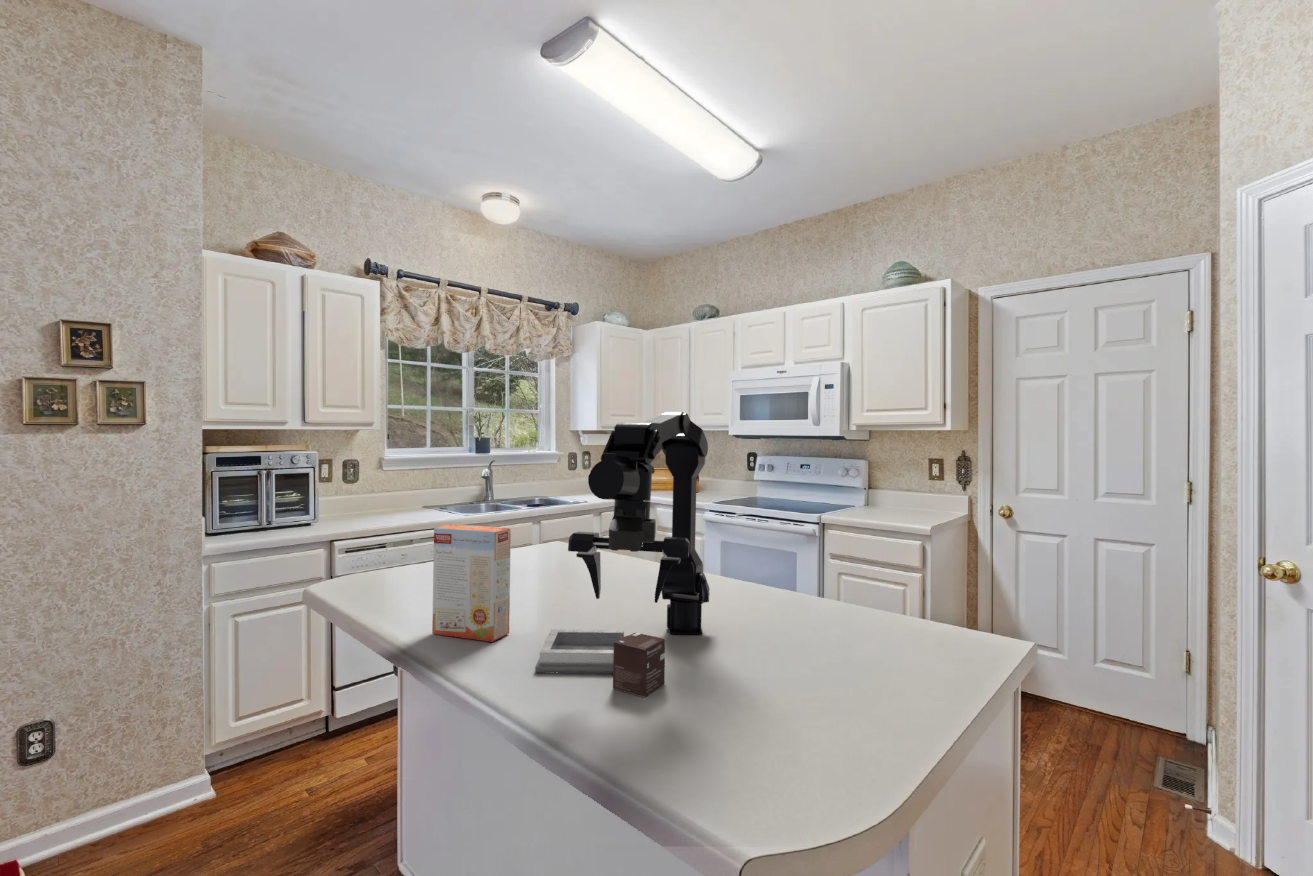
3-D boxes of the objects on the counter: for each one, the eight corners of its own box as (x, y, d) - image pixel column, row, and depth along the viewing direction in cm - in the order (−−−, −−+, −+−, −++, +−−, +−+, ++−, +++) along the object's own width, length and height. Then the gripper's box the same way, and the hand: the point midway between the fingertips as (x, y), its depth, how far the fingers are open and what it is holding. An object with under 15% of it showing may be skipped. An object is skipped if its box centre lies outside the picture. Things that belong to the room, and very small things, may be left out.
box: (644, 699, 89) (645, 649, 89) (611, 689, 92) (612, 641, 92) (665, 685, 94) (666, 638, 94) (633, 676, 97) (634, 631, 97)
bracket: (624, 644, 112) (624, 628, 112) (620, 673, 98) (621, 655, 98) (549, 643, 112) (549, 627, 112) (535, 673, 98) (535, 654, 98)
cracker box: (510, 633, 117) (512, 527, 117) (492, 643, 111) (494, 531, 112) (451, 625, 122) (452, 522, 122) (430, 634, 116) (432, 526, 116)
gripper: (563, 497, 88) (556, 605, 87) (690, 504, 87) (685, 614, 85) (578, 497, 99) (572, 593, 98) (691, 503, 98) (686, 601, 96)
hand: (626, 600), depth 94 cm, fingers open, 9 cm apart
